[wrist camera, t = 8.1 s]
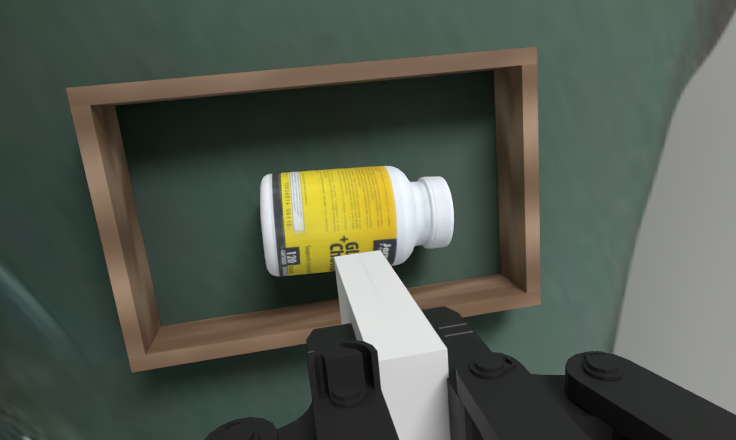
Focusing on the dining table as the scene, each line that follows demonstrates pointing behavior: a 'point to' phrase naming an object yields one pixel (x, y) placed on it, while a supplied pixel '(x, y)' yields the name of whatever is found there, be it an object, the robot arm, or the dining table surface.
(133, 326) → the walnut frame
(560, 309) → the dining table surface
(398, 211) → the pill bottle
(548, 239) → the dining table surface
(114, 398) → the dining table surface
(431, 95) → the dining table surface
